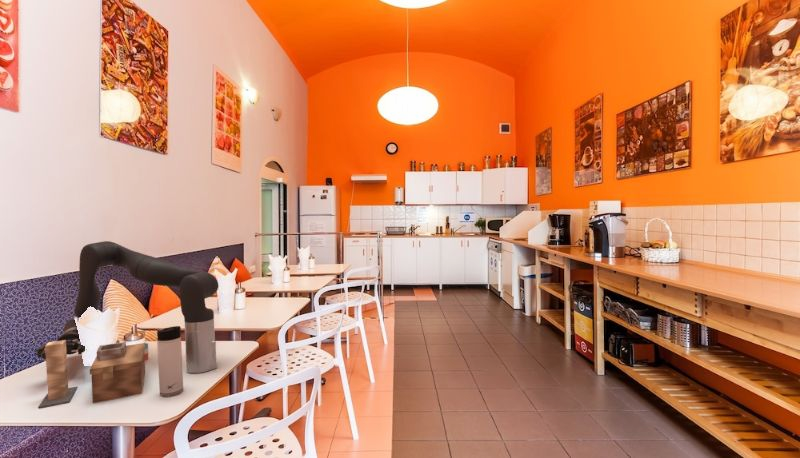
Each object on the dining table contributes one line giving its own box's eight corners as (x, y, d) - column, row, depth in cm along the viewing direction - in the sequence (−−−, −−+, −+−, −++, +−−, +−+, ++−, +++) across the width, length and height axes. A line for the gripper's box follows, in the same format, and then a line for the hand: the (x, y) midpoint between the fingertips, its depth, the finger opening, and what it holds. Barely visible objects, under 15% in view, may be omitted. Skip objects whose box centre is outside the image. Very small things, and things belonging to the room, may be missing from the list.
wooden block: (68, 392, 126) (65, 340, 126) (65, 397, 123) (62, 343, 122) (51, 395, 125) (48, 342, 124) (48, 400, 121) (45, 345, 120)
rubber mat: (77, 387, 131) (77, 386, 131) (69, 402, 120) (69, 401, 120) (49, 392, 127) (48, 391, 127) (38, 408, 117) (38, 407, 117)
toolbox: (146, 371, 144) (144, 333, 143) (142, 394, 125) (140, 351, 124) (101, 379, 137) (99, 340, 137) (91, 404, 119) (88, 359, 118)
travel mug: (174, 397, 122) (171, 330, 121) (154, 396, 123) (151, 329, 122) (189, 388, 128) (186, 324, 127) (170, 387, 129) (167, 323, 129)
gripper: (45, 332, 140) (31, 345, 126) (97, 326, 147) (89, 338, 133) (46, 354, 141) (33, 370, 127) (98, 347, 148) (91, 361, 133)
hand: (62, 353), depth 130 cm, fingers open, 8 cm apart
